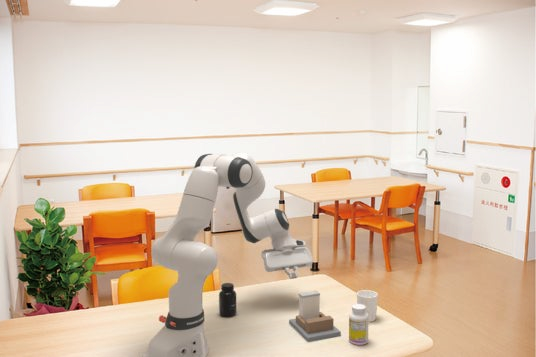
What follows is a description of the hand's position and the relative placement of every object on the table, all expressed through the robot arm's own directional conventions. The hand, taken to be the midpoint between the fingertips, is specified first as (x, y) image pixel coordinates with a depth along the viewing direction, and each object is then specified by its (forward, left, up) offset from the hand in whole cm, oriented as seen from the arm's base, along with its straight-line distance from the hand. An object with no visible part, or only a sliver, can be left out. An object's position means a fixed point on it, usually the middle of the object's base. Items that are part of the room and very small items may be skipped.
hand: (293, 277), depth 212 cm
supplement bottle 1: (-20, +17, -14) cm, 30 cm away
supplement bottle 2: (-4, -34, -14) cm, 37 cm away
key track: (-7, -16, -14) cm, 22 cm away
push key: (-6, -13, -12) cm, 19 cm away
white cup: (+14, -25, -14) cm, 32 cm away
